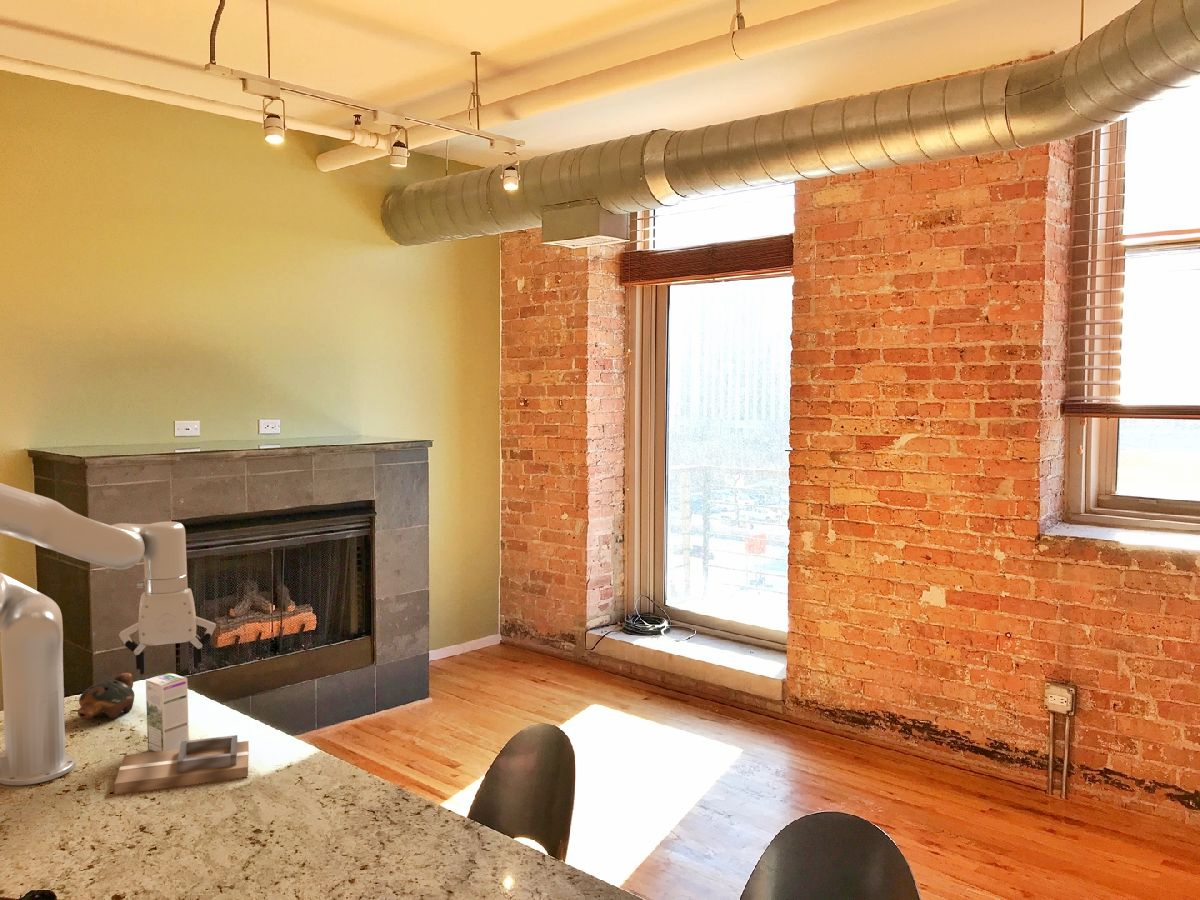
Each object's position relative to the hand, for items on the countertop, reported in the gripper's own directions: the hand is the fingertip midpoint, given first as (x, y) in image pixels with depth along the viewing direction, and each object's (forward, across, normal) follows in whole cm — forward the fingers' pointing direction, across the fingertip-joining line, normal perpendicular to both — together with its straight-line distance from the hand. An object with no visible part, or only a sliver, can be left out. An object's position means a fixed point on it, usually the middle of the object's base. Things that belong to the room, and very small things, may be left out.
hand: (170, 669), depth 179 cm
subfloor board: (+16, +3, -13) cm, 21 cm away
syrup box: (+16, -1, 0) cm, 16 cm away
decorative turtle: (+16, -15, +24) cm, 32 cm away
